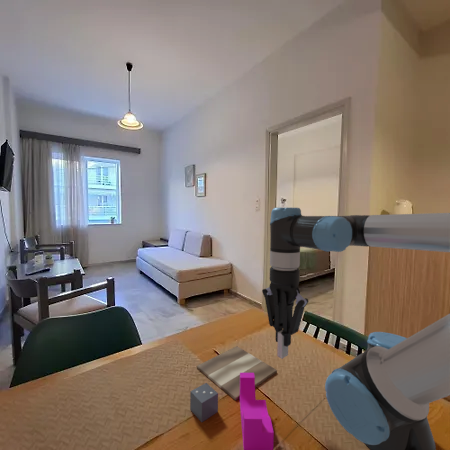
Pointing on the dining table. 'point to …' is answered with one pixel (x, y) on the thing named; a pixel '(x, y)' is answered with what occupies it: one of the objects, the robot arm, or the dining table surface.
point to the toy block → (254, 417)
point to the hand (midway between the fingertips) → (282, 355)
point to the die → (204, 402)
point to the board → (235, 370)
